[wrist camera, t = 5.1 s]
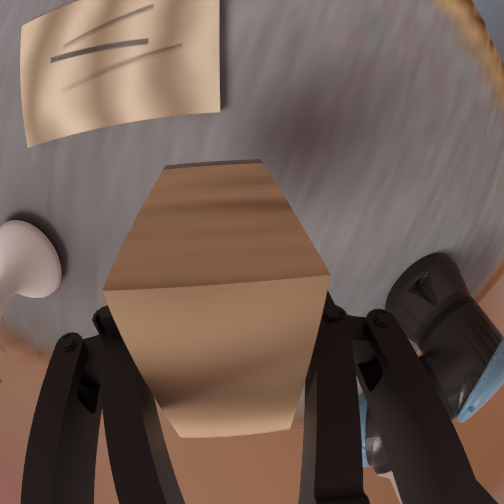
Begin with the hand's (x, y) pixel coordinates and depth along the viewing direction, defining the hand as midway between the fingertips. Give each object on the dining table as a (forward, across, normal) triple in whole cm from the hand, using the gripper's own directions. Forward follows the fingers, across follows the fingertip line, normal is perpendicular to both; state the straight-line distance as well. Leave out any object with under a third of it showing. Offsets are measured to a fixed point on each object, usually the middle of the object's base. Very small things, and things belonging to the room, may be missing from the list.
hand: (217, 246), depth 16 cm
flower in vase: (+13, +25, +8) cm, 30 cm away
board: (+13, +9, -13) cm, 21 cm away
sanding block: (+1, 0, 0) cm, 1 cm away
